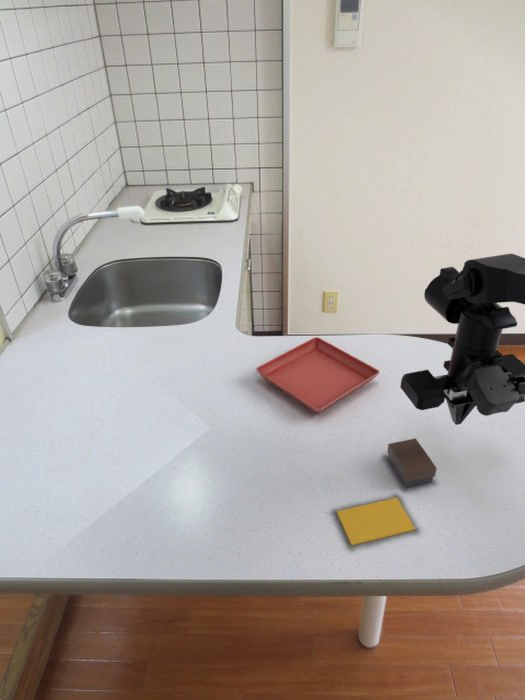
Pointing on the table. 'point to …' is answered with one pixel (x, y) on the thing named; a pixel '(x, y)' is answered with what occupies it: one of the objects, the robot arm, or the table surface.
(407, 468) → the brown rectangular block
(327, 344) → the plant saucer
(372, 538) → the cloth
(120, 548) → the table surface
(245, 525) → the table surface
